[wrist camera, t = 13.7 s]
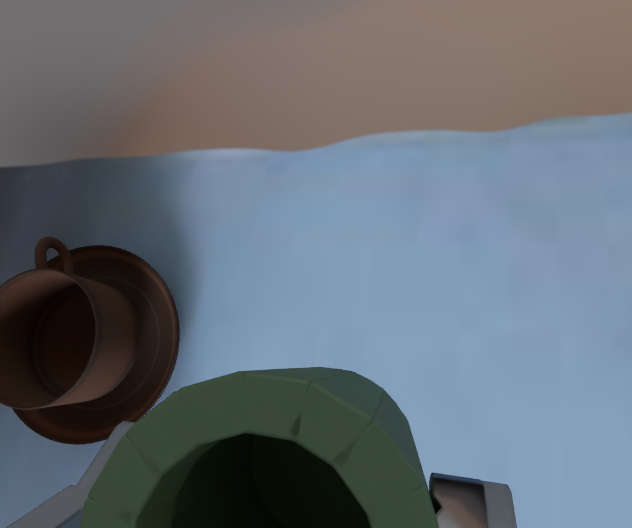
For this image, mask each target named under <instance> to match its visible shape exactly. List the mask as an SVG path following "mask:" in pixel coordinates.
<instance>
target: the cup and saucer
mask: <svg viewBox="0 0 632 528" xmlns="http://www.w3.org/2000/svg"><path fill="white" fill-rule="evenodd" d="M48 248H53V249H55V250H56V251H57V252H58V253H59V254H60V255H58V256H56V257H54V258H53V259H51V260H49V261H48V262H47V258H46V253H47V250H48ZM35 263H36V267H37V269H33V270H29V271H25V272H23V273H20V274H18V275H16V276H14V277H12V278H11V279H9V280H8V281H6V282H5V283H4V284H2V285H1V286H0V403H1V404H3V405H6V406H8V407H11V408H12V409H13V410H14V412H15V413H16V414H17V416H18V417H19V418H20V419H21V420H22V421H23V422H24V423H25V424H26V425H27V426H28V427H29V428H30V429H32V430H33V431H35V432H36V433H38V434H39V435H41V436H43V437H45V438H47V439H50V440H53V441H56V442H60V443H65V444H88V443H94V442H98V441H102V440H105V439H108V438H109V436H110V435H111V433H112V432H113V430H114V429H115V427H116V426H118V425H119V424H120V423H121V422H122V421H127V422H133V423H136V422H137V421H138V420H140V419H141V418H142V417H143V416H144V415H145V414H146V413H147V412H148V411H149V410H150V409H151V408H152V406H153V405H154V404H155V403H156V401H157V400H158V399H159V397H160V396H161V394H162V393H163V391H164V389H165V388H166V386H167V384H168V382H169V380H170V377H171V375H172V372H173V370H174V366H175V363H176V359H177V354H178V348H179V332H180V330H179V319H178V314H177V309H176V306H175V302H174V300H173V297H172V295H171V293H170V291H169V289H168V287H167V285H166V284H165V282H164V280H163V279H162V278H161V276H160V275H159V274H158V273H157V272H156V271H155V270H154V269H153V268H152V267H151V266H150V265H149V264H148V263H147V262H145V261H144V260H143V259H141V258H140V257H138V256H137V255H135V254H133V253H131V252H129V251H126V250H123V249H120V248H116V247H112V246H104V245H93V246H85V247H80V248H76V249H72V250H68V249H67V247H66V246H65V245H64V244H63V243H62V242H61V241H59V240H58V239H56V238H53V237H45V238H43V239H41V240H40V241H39V242H38V244H37V246H36V249H35Z"/></svg>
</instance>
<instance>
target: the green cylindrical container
mask: <svg viewBox="0 0 632 528" xmlns="http://www.w3.org/2000/svg"><path fill="white" fill-rule="evenodd" d="M80 528H439V525H438V521H437V518H436V514H435V511H434V508H433V504H432V501H431V497H430V494H429V490H428V487H427V483H426V480H425V477H424V473H423V470H422V466H421V463H420V459H419V456H418V453H417V449H416V446H415V443H414V439H413V436H412V433H411V429H410V426H409V423H408V420H407V418H406V417H405V415H404V414H403V413H402V411H401V410H400V408H399V407H398V405H397V404H396V402H395V401H394V400H393V399H392V398H391V397H390V396H389V395H388V393H387V392H386V391H385V390H384V389H383V388H381V387H380V386H378V385H377V384H375V383H374V382H372V381H371V380H369V379H367V378H365V377H363V376H361V375H359V374H357V373H355V372H352V371H347V370H342V369H333V368H325V367H311V368H291V369H270V370H254V371H239V372H235V373H232V374H228V375H225V376H221V377H218V378H214V379H211V380H207V381H204V382H200V383H197V384H193V385H190V386H186V387H183V388H181V389H179V391H176V392H174V393H173V394H171V395H170V396H169V397H168V398H166V399H165V400H164V401H163V402H161V403H160V404H159V405H158V406H156V407H155V408H154V409H153V410H151V411H150V412H149V413H148V414H146V415H145V416H144V417H143V418H141V419H140V420H139V421H138V422H136V423H135V424H134V425H133V426H131V427H130V428H129V429H128V430H127V431H126V434H124V435H123V436H122V437H121V439H120V440H119V442H118V444H117V445H116V447H115V449H114V450H113V452H112V454H111V456H110V457H109V459H108V461H107V462H106V464H105V466H104V467H103V469H102V471H101V473H100V474H99V476H98V478H97V479H96V481H95V483H94V484H93V486H92V488H91V489H90V491H89V493H88V497H87V498H86V500H85V504H84V509H83V514H82V518H81V523H80Z"/></svg>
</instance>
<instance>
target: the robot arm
mask: <svg viewBox="0 0 632 528" xmlns="http://www.w3.org/2000/svg"><path fill="white" fill-rule="evenodd" d="M134 424H135V423H133V422H127V421H122V422H121V423H120V424H119V425H118V426H116V427H115V429H114V430H113V432H112V433H111V435H110V436H109V438H108V439H107V441H106V442H105V444H104V445H103V447H102V448H101V450H100V451H99V453H98V454H97V456H96V457H95V459H94V460H93V462H92V463H91V465H90V466H89V468H88V469H87V471H86V472H85V474H84V475H83V477H82V478H81V480H80V481H79V483H78V484H77V486H72V485H70V486H68V487H67V488H65V489H64V490H62V491H61V492H59V493H58V494H56V495H55V496H53V497H52V498H50V499H49V500H47V501H46V502H44V503H43V504H41V505H40V506H38V507H37V508H35V509H34V510H32V511H31V512H29V513H28V514H26V515H25V516H23V517H22V518H20V519H19V520H17V521H16V522H14V523H13V524H11V525H10V526H8V527H7V528H80V523H81V518H82V514H83V509H84V504H85V500H86V498H87V497H88V493H89V491H90V489H91V488H92V486H93V484H94V483H95V481H96V479H97V478H98V476H99V474H100V473H101V471H102V469H103V467H104V466H105V464H106V462H107V461H108V459H109V457H110V456H111V454H112V452H113V450H114V449H115V447H116V445H117V444H118V442H119V440H120V439H121V437H122V436H123V435H124V434H126V431H127V430H128V429H129V428H130V427H131V426H133V425H134ZM429 494H430V497H431V501H432V504H433V508H434V511H435V514H436V518H437V521H438V525H439V528H517V525H516V519H515V513H514V506H513V500H512V493H511V490H510V488H509V486H508V485H507V484H501V483H495V482H488V481H482V480H479V479H473V478H466V477H459V476H452V475H446V474H439V473H431V476H430V481H429Z"/></svg>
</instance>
